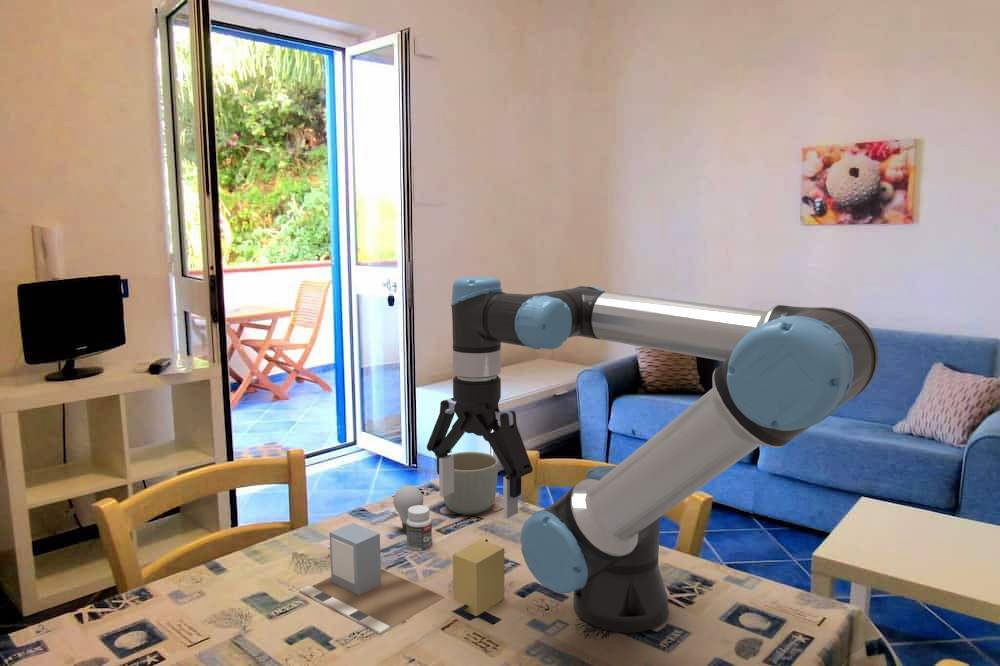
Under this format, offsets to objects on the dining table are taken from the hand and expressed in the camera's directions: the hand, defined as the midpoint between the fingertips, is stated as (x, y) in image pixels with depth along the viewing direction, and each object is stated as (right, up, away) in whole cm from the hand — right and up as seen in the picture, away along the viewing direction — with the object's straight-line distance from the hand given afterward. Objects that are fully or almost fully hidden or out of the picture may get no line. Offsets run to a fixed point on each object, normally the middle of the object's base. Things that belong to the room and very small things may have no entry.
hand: (477, 504), depth 119 cm
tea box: (0, -17, +3) cm, 17 cm away
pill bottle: (-12, -14, +21) cm, 28 cm away
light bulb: (-15, -13, +29) cm, 34 cm away
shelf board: (-18, -17, +3) cm, 24 cm away
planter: (-3, -11, +41) cm, 42 cm away
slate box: (-21, -15, +7) cm, 27 cm away
